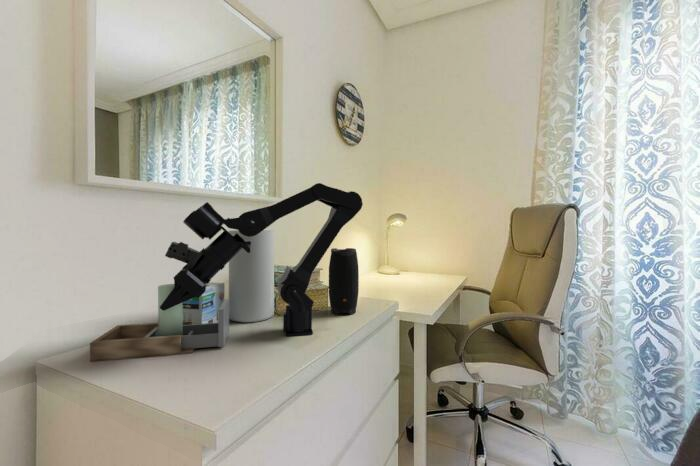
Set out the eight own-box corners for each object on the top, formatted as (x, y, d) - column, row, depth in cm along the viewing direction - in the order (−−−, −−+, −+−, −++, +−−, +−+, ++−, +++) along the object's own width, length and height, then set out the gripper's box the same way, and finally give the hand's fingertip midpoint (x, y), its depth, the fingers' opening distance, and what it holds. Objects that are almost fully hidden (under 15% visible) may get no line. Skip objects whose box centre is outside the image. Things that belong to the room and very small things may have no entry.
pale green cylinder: (186, 332, 71) (186, 283, 71) (174, 339, 66) (174, 287, 66) (166, 332, 71) (166, 283, 71) (153, 339, 66) (153, 287, 66)
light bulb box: (201, 333, 76) (201, 289, 76) (176, 332, 77) (176, 288, 77) (225, 320, 87) (225, 282, 87) (203, 319, 88) (203, 281, 88)
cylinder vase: (231, 325, 83) (231, 230, 82) (226, 314, 94) (226, 230, 93) (278, 319, 88) (279, 230, 88) (268, 309, 99) (268, 230, 99)
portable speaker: (354, 317, 91) (354, 250, 91) (324, 314, 94) (324, 249, 94) (361, 309, 99) (361, 248, 99) (333, 307, 102) (334, 247, 102)
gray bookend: (229, 332, 76) (229, 299, 76) (223, 346, 67) (223, 309, 67) (156, 337, 72) (156, 302, 72) (140, 353, 63) (140, 313, 63)
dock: (202, 334, 75) (202, 320, 75) (191, 353, 65) (191, 335, 64) (117, 341, 71) (117, 325, 71) (90, 361, 60) (90, 342, 60)
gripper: (193, 228, 78) (142, 275, 74) (186, 229, 61) (118, 290, 57) (227, 259, 81) (180, 305, 77) (229, 267, 64) (168, 328, 60)
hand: (163, 306), depth 68 cm, fingers closed on pale green cylinder, 4 cm apart
